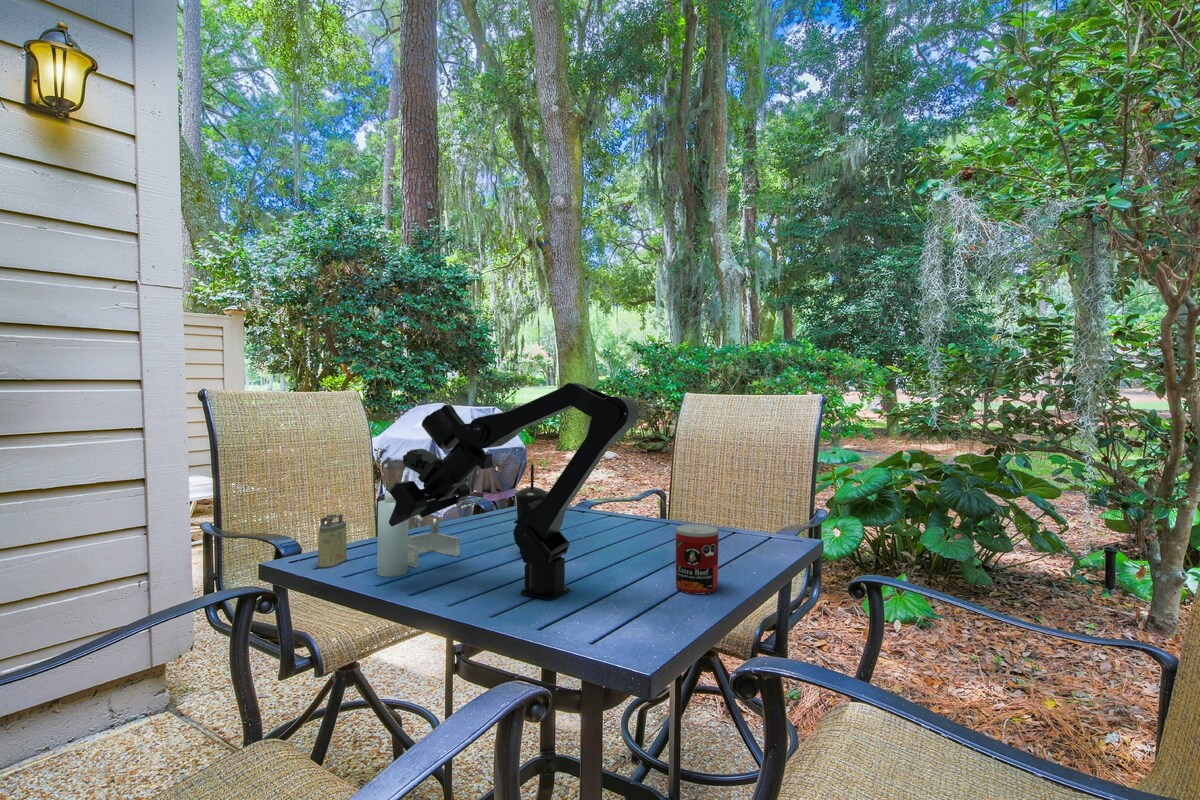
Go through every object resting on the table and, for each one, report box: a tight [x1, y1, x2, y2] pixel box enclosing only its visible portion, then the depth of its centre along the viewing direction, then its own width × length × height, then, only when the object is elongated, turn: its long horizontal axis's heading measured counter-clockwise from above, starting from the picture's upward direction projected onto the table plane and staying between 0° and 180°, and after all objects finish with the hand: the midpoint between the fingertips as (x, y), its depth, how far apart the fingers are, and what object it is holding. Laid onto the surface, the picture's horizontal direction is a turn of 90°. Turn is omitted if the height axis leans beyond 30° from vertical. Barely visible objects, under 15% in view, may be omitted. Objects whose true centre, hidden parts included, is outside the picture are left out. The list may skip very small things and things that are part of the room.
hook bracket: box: [407, 517, 461, 569], centre depth 126 cm, size 10×12×7 cm
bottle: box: [376, 492, 409, 578], centre depth 115 cm, size 6×6×16 cm
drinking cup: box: [514, 463, 549, 555], centre depth 130 cm, size 8×8×20 cm
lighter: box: [317, 513, 348, 568], centre depth 121 cm, size 7×4×10 cm, turn 171°
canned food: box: [675, 523, 719, 595], centre depth 107 cm, size 8×8×11 cm
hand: (406, 519), depth 114 cm, fingers open, 9 cm apart
